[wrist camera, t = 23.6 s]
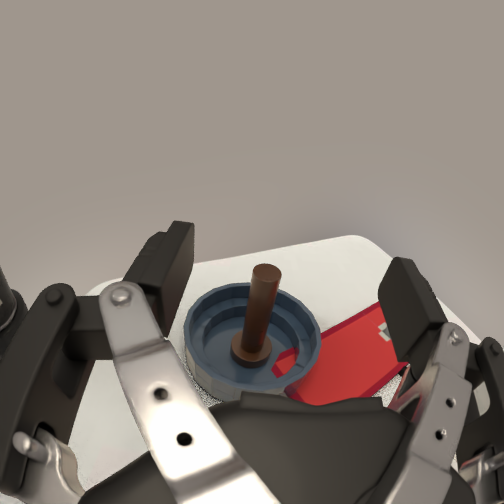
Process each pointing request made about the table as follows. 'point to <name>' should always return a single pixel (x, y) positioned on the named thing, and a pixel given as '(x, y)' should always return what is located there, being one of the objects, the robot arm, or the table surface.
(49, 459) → the robot arm
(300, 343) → the bowl
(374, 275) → the table surface
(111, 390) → the table surface
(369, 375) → the red board with handle
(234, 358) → the brown cylinder
